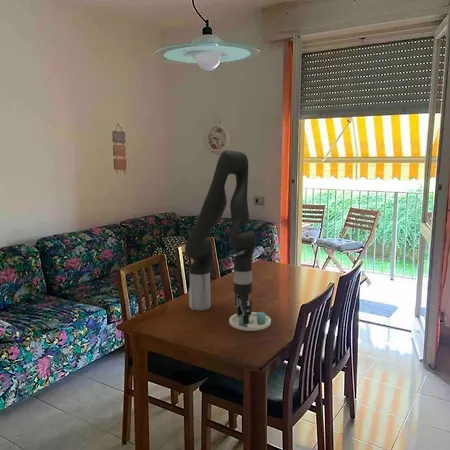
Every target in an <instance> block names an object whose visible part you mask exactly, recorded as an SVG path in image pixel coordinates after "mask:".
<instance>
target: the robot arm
mask: <svg viewBox="0 0 450 450" xmlns="http://www.w3.org/2000/svg"><path fill="white" fill-rule="evenodd" d="M229 175H234V176H235V185H236V186H235V188H234V189H235V190H234V191H233V194H232V196H231V200H230V202H229V203H230V206H229V208H230V216H231V217H230V219H231V226H230V233H229V240H228V243H229V246H230V248H232V249H233V250H235V251H237V250H244V251H243V252H242V253H239V254H236V255H235V256H234V257H233V273H232V274H233V276H232V278H233V284H232V285H233V289H232V290H233V293H234V304H235V307H236V308H237V309H236V310H237V311H236V312H237V313H236V314H237V316H238V317H239V315H242V314H243V323H244V324H248V323H249V315H251V312H252V300H250V297H249V295H250V294H251V293H253V272H252V271H253V267H252V264H253V262H252V261H253V255H254V251H255V249H256V244H257V235H256V234H255V232H254V231H252V230H242V231H241V230H240V231H239V229H240V227H243V226H246V225H248V224H249V223H250V213H249V205H248V185H249V159H248V156H247V154H245V152H241V151H235V150H229V149H227V150H224V151H222V152H221V153H220V155H219V157H218V160H217V163H216V166H215V169H214V173H213V177H212V180H211V184H210V186H209V189H208V192H207V194H206V197H205V199H204V201H203V204H202V207H201V209H200V213H199V214H198V218H197V219H196V222H195V224H194V226H193V229H192V230H191V232H190V235H189V236H188V238H187V240H186V242H185V245H184V246H185V247H184V252H185V255H186V256H187V257H188V258H189V259H191V260H193V262H192V263H191V264H190V265H189V268H188V272H189V287H188V308H189V309H191V311H206V310H209V309H210V308H211V304H212V303H211V267H212V264H213V263H212V262H213V261H212V260H213V245H212V244H213V243H212V241H211V239H210V238H209V237H208V235H209V233H210V232H211V231H212V229H214V227H215V226H216V225H217V224H218V223H219V222H220V220H221V218H222V216H223V214H224V212H225V210H226V207H227V196H226V195H227V194H226V188H225V187H226V186H225V185H226V181H227V179H228V177H229Z"/></svg>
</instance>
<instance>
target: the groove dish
mask: <svg viewBox="0 0 450 450" xmlns="http://www.w3.org/2000/svg"><path fill="white" fill-rule="evenodd" d="M257 313H258V312H255V311H251V315H250V317H249V323H248V324H247V327H244V326H239V317H238V316H237V313H235V314H233V315H231V316H230V317H229V320H228V323H229V325H230V326H231V327H233V328H234V329H237V330H241V331H248V332H249V331H250V332H254V331H261V330H264V329H267V328H269V327H270V326H271V325H272V323H271V322H272V319H271V317H270V316H268V315H267V314H265V324H263V325H259V324H257Z"/></svg>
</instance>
